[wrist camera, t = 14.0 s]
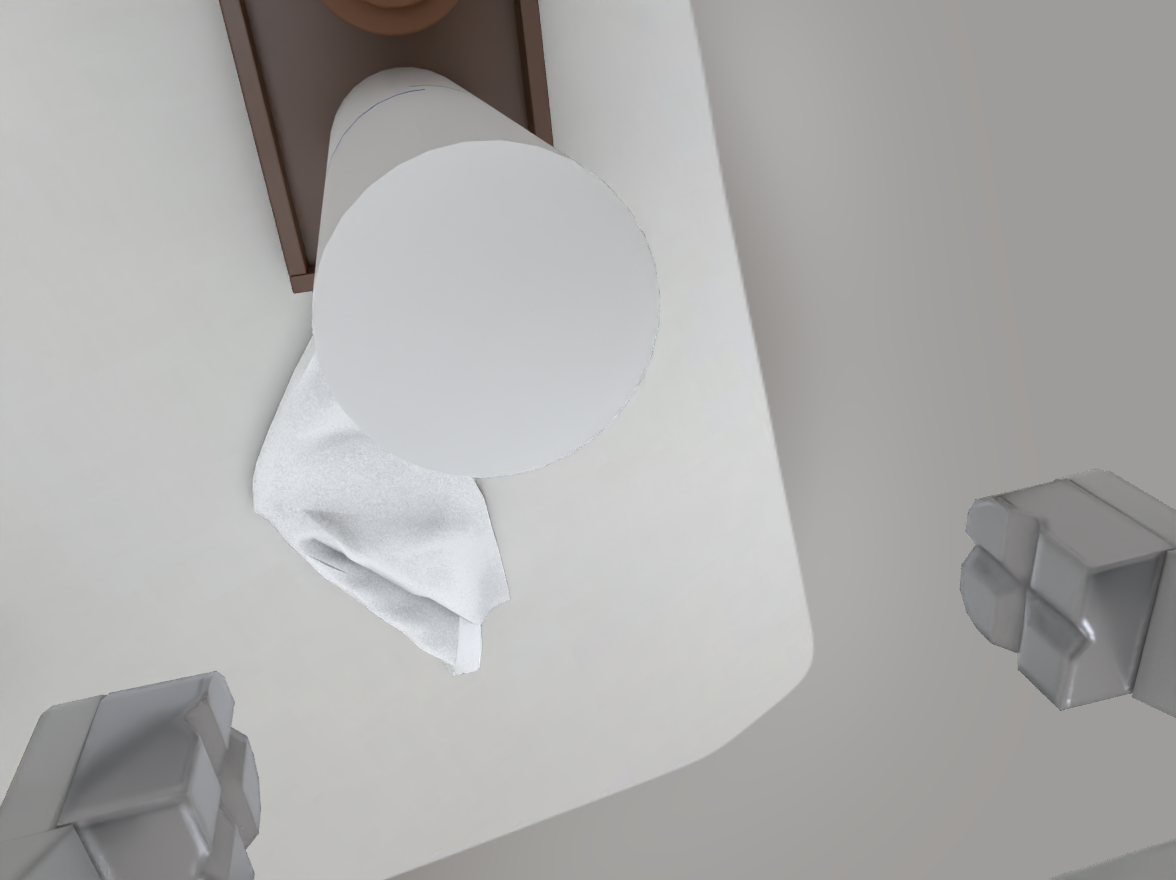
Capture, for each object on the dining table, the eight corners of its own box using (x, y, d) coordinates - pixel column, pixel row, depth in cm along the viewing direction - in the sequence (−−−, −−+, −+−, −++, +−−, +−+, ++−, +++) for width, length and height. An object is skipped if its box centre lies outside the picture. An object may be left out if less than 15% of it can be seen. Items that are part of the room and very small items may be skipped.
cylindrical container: (301, 97, 38) (245, 215, 16) (459, 44, 39) (609, 86, 17) (368, 253, 41) (394, 523, 20) (511, 202, 42) (693, 409, 20)
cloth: (232, 235, 40) (228, 248, 38) (533, 244, 43) (543, 256, 42) (268, 689, 51) (266, 717, 49) (505, 665, 55) (512, 690, 53)
